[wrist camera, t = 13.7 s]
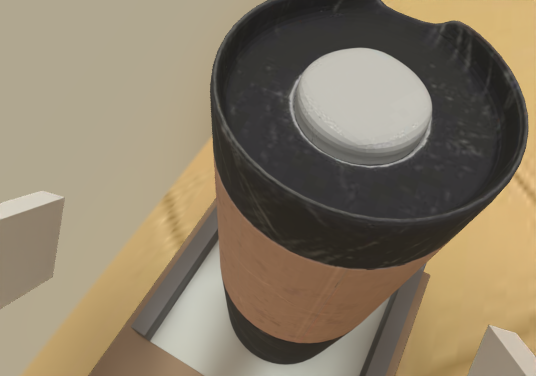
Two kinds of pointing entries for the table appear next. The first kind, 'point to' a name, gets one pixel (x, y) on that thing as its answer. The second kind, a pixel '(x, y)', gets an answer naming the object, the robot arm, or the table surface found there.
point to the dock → (223, 336)
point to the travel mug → (348, 160)
